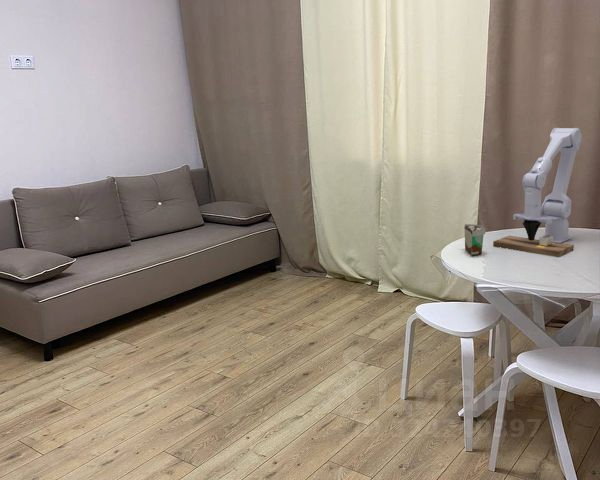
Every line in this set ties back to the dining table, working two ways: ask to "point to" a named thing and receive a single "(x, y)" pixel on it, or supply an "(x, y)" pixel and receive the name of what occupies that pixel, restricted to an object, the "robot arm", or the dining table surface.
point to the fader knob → (546, 240)
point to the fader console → (533, 246)
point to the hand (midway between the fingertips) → (531, 239)
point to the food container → (474, 239)
